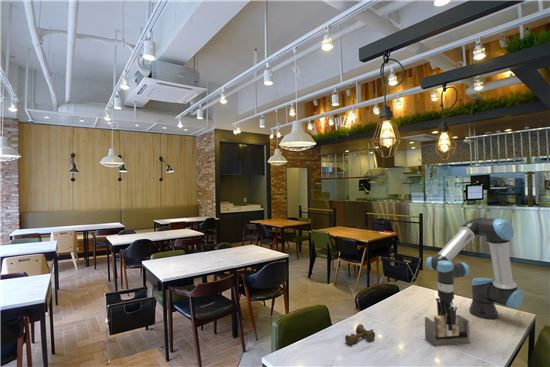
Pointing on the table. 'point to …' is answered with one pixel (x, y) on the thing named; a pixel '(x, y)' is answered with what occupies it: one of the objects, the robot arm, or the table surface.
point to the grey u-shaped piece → (449, 340)
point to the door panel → (441, 326)
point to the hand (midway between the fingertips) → (446, 333)
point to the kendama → (360, 335)
